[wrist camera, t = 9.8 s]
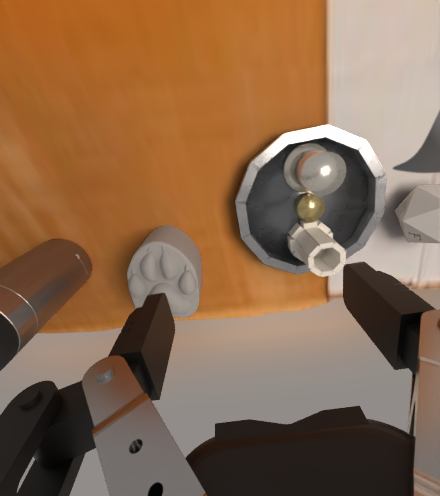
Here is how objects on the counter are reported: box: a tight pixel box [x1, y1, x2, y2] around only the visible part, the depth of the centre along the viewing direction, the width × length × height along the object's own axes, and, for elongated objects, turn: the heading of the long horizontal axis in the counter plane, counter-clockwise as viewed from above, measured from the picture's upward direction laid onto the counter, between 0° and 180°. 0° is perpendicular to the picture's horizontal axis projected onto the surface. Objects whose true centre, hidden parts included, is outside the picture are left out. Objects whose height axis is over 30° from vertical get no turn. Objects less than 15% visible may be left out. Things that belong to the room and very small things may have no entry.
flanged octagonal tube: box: [287, 219, 346, 277], centre depth 37 cm, size 6×6×8 cm
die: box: [394, 184, 440, 243], centre depth 36 cm, size 8×9×10 cm
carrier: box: [235, 125, 387, 274], centre depth 35 cm, size 21×21×9 cm
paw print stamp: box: [127, 225, 202, 318], centre depth 40 cm, size 10×13×9 cm
